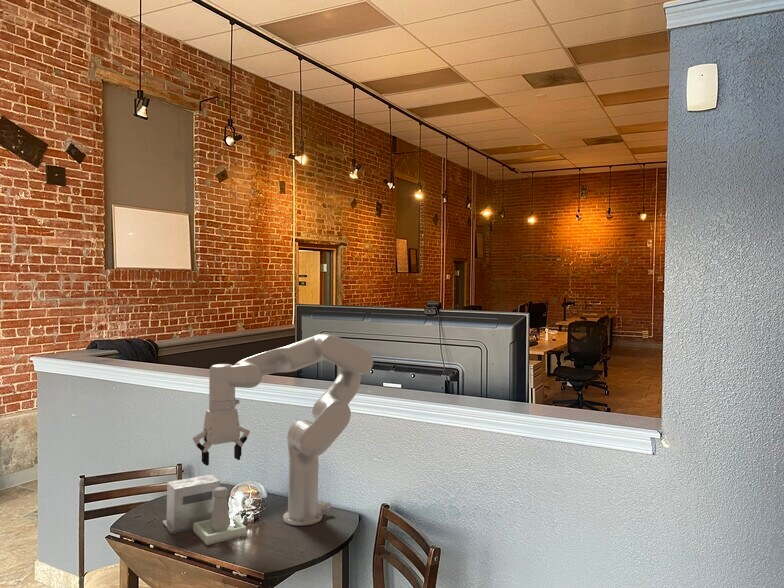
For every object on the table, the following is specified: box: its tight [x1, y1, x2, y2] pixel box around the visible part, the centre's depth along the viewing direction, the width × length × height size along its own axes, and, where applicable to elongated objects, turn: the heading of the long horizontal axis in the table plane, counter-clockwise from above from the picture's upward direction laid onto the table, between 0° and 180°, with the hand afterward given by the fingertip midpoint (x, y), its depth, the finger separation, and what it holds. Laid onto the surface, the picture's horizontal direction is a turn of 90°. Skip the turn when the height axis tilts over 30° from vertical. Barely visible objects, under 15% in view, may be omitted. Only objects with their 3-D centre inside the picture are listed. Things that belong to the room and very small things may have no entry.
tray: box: [192, 518, 247, 546], centre depth 170 cm, size 12×12×2 cm
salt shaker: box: [210, 486, 230, 533], centre depth 170 cm, size 6×6×13 cm
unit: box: [161, 474, 221, 535], centre depth 178 cm, size 16×10×13 cm, turn 127°
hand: (221, 461), depth 170 cm, fingers open, 9 cm apart
